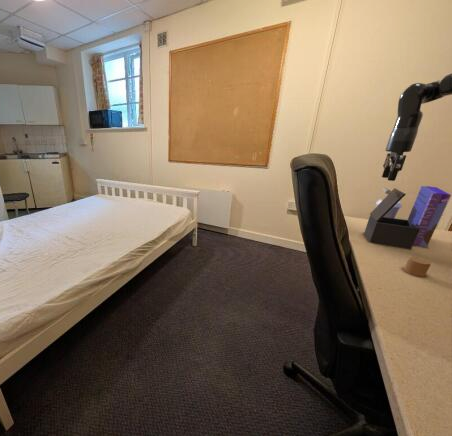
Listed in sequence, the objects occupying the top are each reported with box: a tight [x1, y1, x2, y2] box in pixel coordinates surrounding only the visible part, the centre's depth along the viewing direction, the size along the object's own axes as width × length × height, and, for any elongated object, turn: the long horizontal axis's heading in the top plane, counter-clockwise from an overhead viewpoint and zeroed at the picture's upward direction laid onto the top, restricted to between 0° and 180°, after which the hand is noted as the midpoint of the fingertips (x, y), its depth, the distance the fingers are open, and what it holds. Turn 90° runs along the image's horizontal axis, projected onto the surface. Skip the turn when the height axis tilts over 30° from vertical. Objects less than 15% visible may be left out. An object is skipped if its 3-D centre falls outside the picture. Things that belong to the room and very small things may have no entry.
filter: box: [403, 256, 432, 277], centre depth 78 cm, size 5×5×5 cm
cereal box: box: [407, 185, 452, 249], centre depth 100 cm, size 17×5×24 cm, turn 143°
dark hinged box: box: [363, 214, 420, 250], centre depth 101 cm, size 14×12×10 cm
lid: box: [369, 187, 407, 222], centre depth 99 cm, size 14×12×5 cm
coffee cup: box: [375, 198, 403, 218], centre depth 114 cm, size 10×10×15 cm
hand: (387, 179), depth 95 cm, fingers open, 8 cm apart
